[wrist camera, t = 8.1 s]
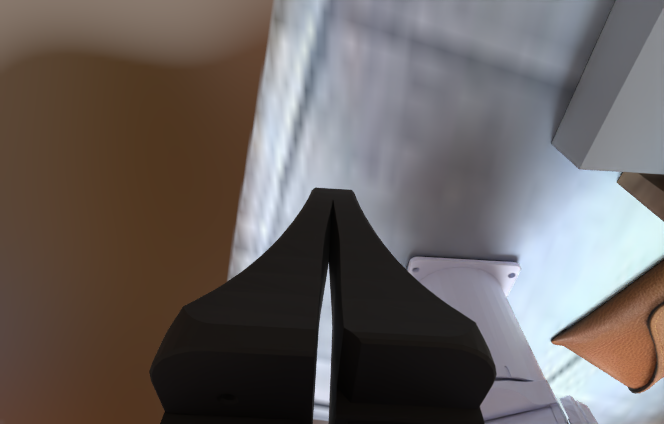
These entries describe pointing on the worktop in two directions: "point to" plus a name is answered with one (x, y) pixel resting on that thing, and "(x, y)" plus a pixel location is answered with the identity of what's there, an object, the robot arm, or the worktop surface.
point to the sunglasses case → (625, 333)
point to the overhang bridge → (645, 190)
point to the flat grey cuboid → (620, 95)
